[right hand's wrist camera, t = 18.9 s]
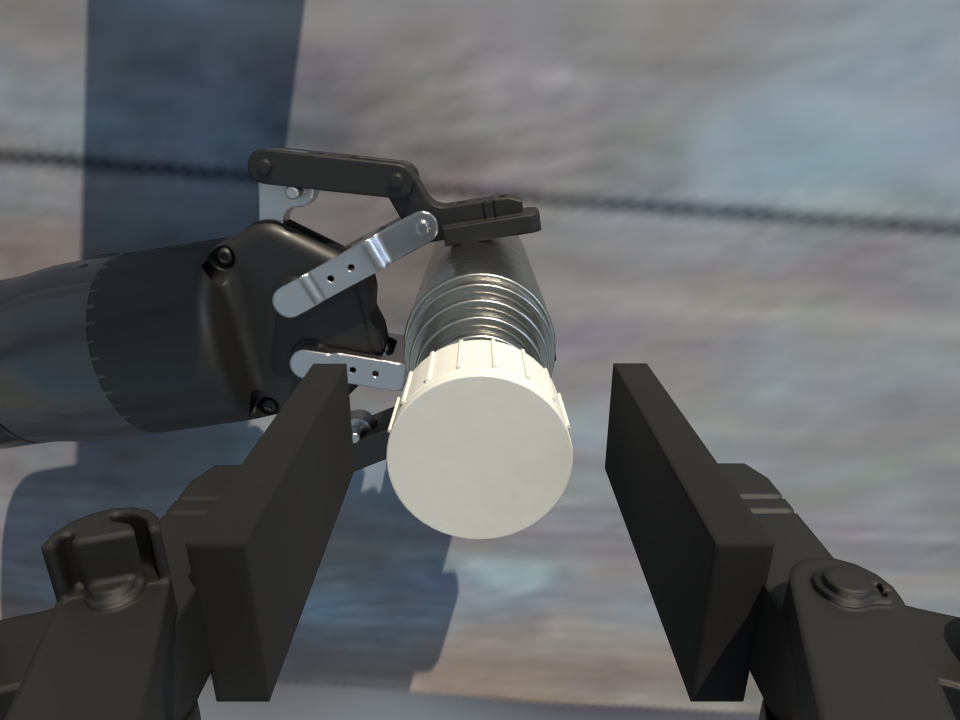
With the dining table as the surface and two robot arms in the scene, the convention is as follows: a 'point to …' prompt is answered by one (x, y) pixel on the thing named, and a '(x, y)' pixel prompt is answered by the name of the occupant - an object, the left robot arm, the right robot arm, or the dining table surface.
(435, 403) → the cap
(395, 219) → the left robot arm
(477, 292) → the bottle
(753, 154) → the dining table surface
